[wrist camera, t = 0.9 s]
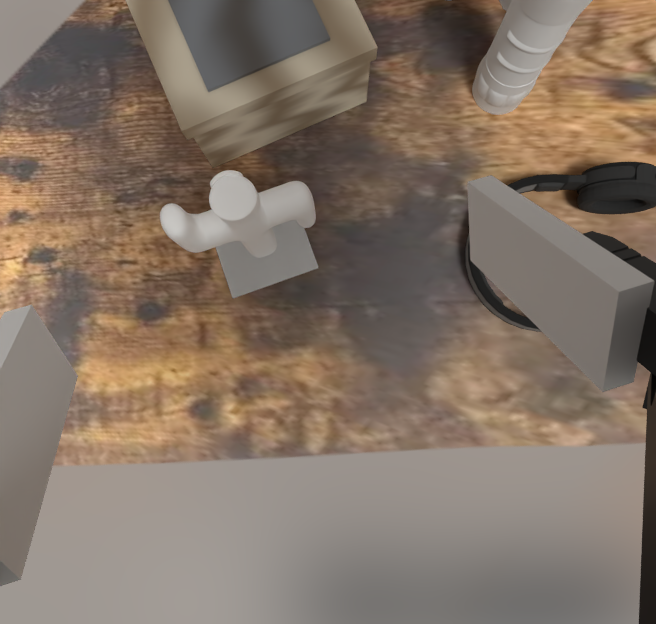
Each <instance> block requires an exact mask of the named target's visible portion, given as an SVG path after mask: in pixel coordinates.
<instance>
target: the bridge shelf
mask: <svg viewBox="0 0 656 624" xmlns="http://www.w3.org/2000/svg"><path fill="white" fill-rule="evenodd" d="M126 2H127V5H128V7H129V9H130V12H131V14H132V16H133V19H134V21H135V24H136V26H137V28H138V31H139V33H140V35H141V38H142V40H143V42H144V45H145V47H146V49H147V52H148V54H149V56H150V59H151V61H152V63H153V66H154V68H155V70H156V73H157V75H158V77H159V80H160V82H161V84H162V87H163V89H164V91H165V94H166V96H167V98H168V101H169V103H170V105H171V108H172V110H173V112H174V115H175V117H176V120H177V122H178V124H179V127H180V129H181V131H182V133H183V134H184V136H185V137H186V139H187V140H189V139H192V138H194V139H195V141H196V143H197V144H198V146H199V147H200V149H201V150H202V152H203V154H204V155H205V157H206V158H207V160H208V161H209V163H210V165H211V166H212V168H214V167H217V166H219V165H221V164H223V163H226V162H228V161H230V160H233V159H235V158H237V157H240V156H242V155H244V154H247V153H249V152H251V151H254V150H256V149H258V148H261V147H263V146H265V145H268V144H270V143H272V142H274V141H277V140H279V139H281V138H284V137H286V136H288V135H291V134H293V133H295V132H298V131H300V130H302V129H305V128H307V127H309V126H312V125H314V124H316V123H319V122H321V121H323V120H325V119H328V118H330V117H332V116H335V115H337V114H339V113H342V112H344V111H346V110H349V109H351V108H353V107H356V106H358V105H360V104H363V103H365V102H366V101H367V91H368V81H369V70H370V62H371V61H373V60H376V56H377V45H376V43H375V41H374V39H373V37H372V35H371V33H370V31H369V29H368V27H367V25H366V23H365V21H364V18H363V16H362V14H361V12H360V10H359V8H358V6H357V4H356V2H355V0H126Z"/></svg>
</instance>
